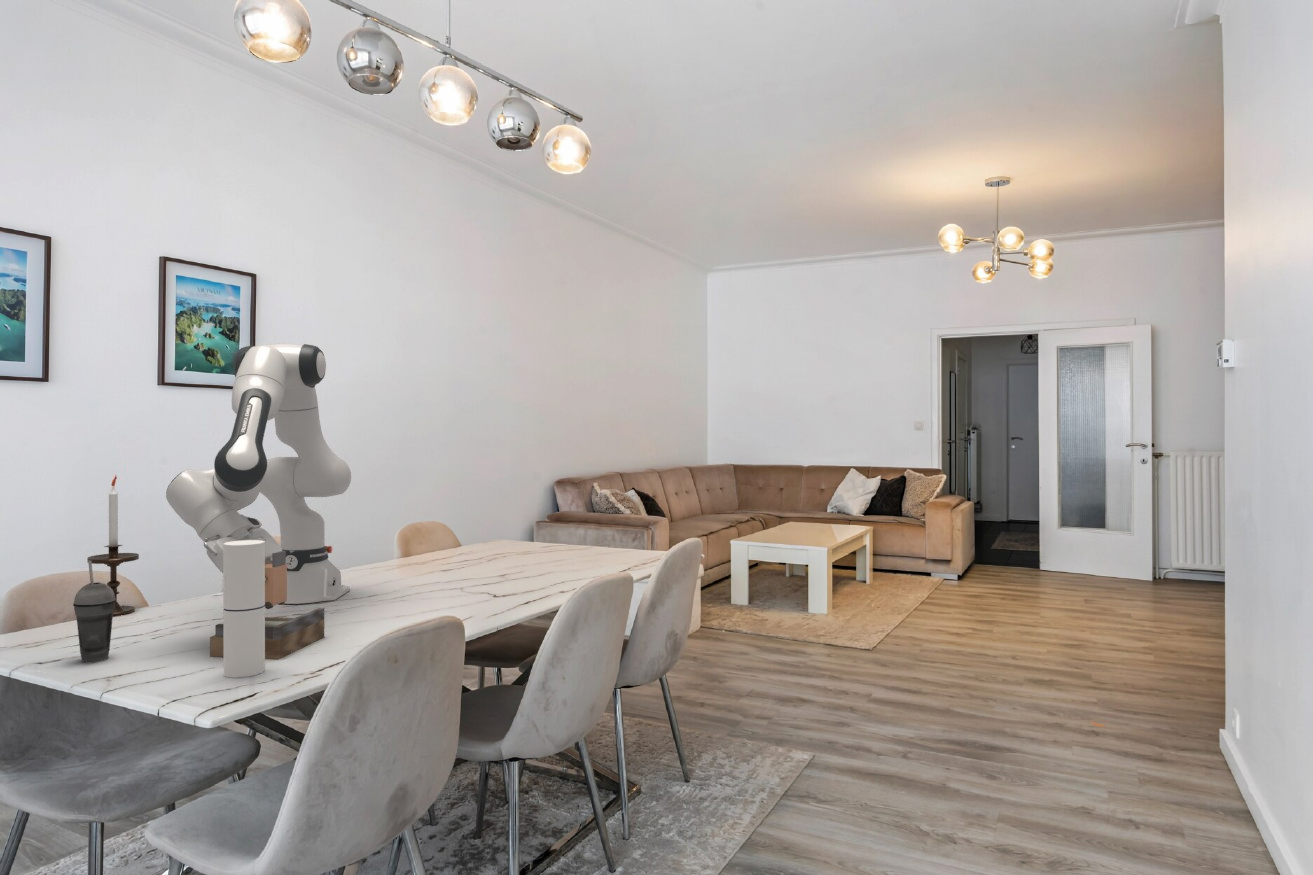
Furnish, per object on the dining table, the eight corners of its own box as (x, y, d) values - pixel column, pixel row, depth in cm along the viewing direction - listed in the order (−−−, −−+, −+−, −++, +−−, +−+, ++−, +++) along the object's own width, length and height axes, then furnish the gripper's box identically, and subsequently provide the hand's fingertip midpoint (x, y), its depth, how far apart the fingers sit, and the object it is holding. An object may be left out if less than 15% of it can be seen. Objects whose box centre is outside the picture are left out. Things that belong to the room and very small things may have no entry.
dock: (262, 634, 186) (261, 605, 186) (324, 636, 185) (324, 607, 185) (209, 656, 168) (209, 624, 168) (278, 659, 167) (278, 627, 167)
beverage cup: (94, 665, 162) (94, 564, 161) (63, 663, 163) (63, 563, 163) (125, 655, 169) (125, 558, 169) (95, 653, 170) (95, 557, 170)
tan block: (265, 603, 179) (265, 549, 179) (286, 604, 179) (286, 550, 178) (251, 608, 174) (251, 553, 174) (273, 609, 174) (273, 553, 174)
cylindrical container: (221, 679, 153) (221, 546, 153) (225, 668, 160) (224, 541, 160) (264, 674, 156) (264, 544, 156) (265, 664, 163) (265, 539, 162)
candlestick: (149, 608, 212) (148, 473, 211) (117, 618, 201) (116, 476, 201) (110, 607, 213) (109, 473, 213) (76, 617, 202) (75, 475, 202)
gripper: (210, 528, 166) (257, 577, 166) (261, 518, 186) (303, 561, 186) (188, 550, 166) (235, 599, 166) (242, 537, 187) (284, 581, 186)
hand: (272, 579), depth 176 cm, fingers closed on tan block, 5 cm apart
